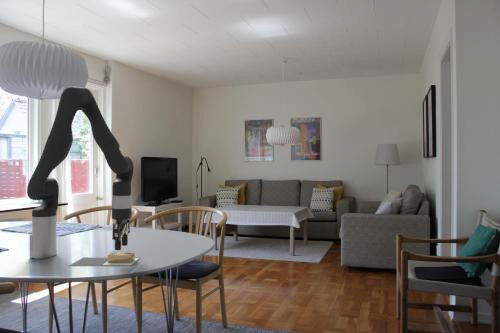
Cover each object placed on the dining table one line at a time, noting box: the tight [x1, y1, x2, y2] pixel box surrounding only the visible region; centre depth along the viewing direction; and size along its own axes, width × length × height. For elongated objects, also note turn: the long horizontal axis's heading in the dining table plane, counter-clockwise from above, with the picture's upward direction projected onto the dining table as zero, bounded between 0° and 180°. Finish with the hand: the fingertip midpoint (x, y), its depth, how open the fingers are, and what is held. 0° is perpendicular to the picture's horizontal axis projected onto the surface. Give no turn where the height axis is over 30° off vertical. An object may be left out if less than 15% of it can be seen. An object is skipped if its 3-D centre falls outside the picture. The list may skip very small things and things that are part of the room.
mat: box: [68, 256, 142, 268], centre depth 164 cm, size 24×14×1 cm, turn 90°
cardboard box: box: [107, 251, 136, 263], centre depth 164 cm, size 5×9×3 cm, turn 90°
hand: (121, 247), depth 165 cm, fingers open, 8 cm apart
